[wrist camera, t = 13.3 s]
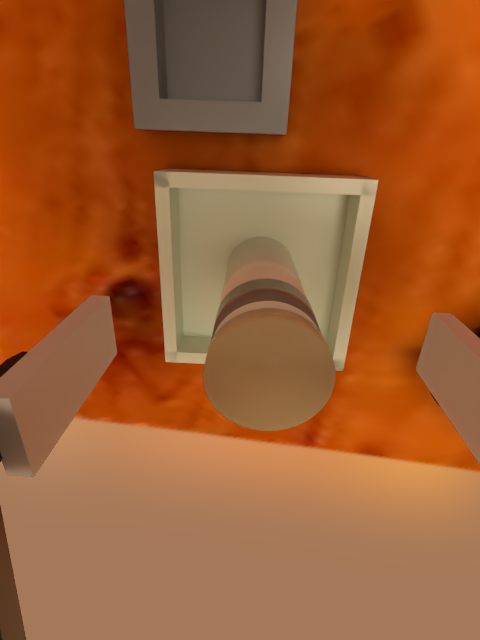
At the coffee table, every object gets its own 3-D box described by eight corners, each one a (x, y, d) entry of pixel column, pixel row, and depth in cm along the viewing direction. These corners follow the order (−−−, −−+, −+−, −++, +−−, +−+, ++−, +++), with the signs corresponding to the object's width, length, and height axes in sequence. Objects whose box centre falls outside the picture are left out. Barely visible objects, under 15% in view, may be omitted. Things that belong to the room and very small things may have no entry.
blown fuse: (226, 233, 23) (202, 317, 12) (298, 236, 23) (345, 323, 12) (225, 300, 25) (203, 427, 14) (291, 303, 25) (325, 433, 14)
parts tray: (166, 168, 22) (153, 171, 19) (363, 176, 22) (378, 179, 19) (174, 340, 27) (165, 361, 25) (334, 348, 27) (343, 370, 24)
